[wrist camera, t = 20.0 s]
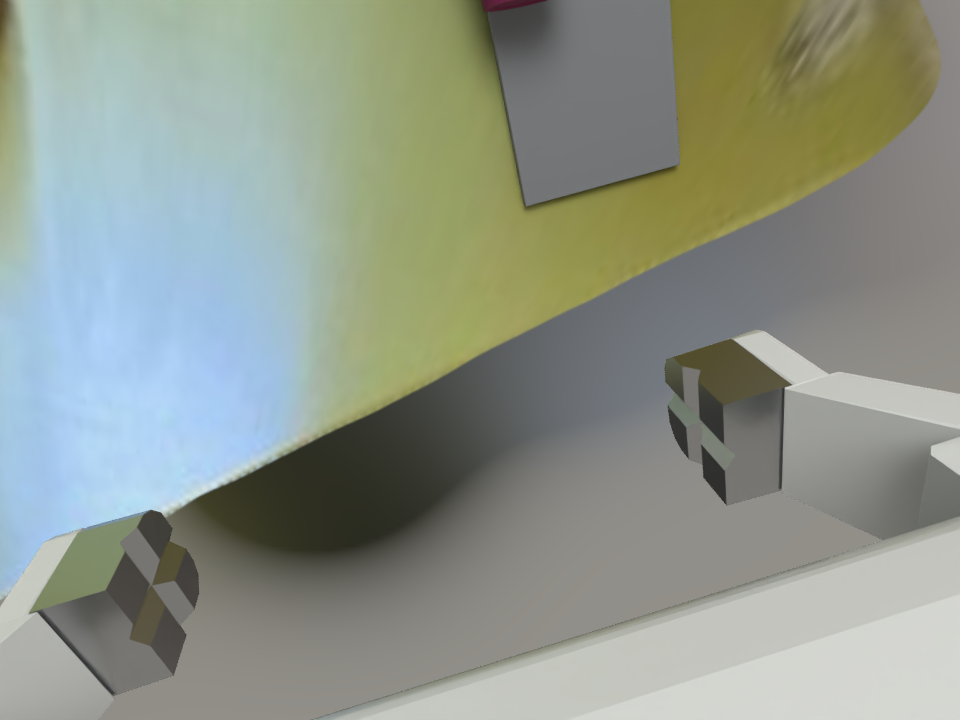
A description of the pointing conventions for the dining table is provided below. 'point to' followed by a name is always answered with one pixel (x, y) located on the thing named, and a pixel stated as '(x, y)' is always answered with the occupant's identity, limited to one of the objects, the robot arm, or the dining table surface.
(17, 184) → the dining table surface
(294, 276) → the dining table surface
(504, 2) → the cup
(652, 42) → the mat
